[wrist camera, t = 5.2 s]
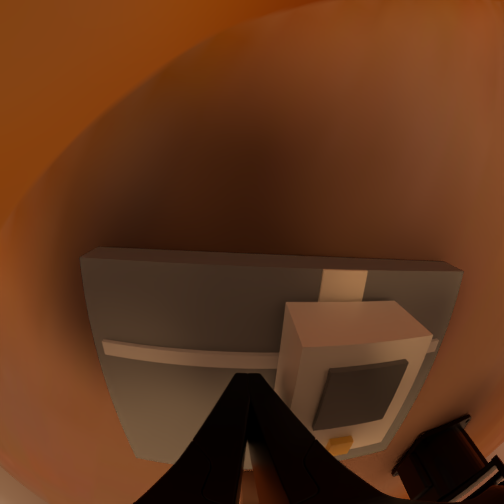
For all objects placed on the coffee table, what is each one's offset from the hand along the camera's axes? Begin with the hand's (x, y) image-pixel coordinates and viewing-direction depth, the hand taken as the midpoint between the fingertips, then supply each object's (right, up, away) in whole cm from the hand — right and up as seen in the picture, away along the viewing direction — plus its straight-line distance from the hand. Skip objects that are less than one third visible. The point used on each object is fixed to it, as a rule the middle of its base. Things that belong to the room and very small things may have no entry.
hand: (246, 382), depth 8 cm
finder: (+3, 0, +1) cm, 3 cm away
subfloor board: (+1, -2, +3) cm, 4 cm away
